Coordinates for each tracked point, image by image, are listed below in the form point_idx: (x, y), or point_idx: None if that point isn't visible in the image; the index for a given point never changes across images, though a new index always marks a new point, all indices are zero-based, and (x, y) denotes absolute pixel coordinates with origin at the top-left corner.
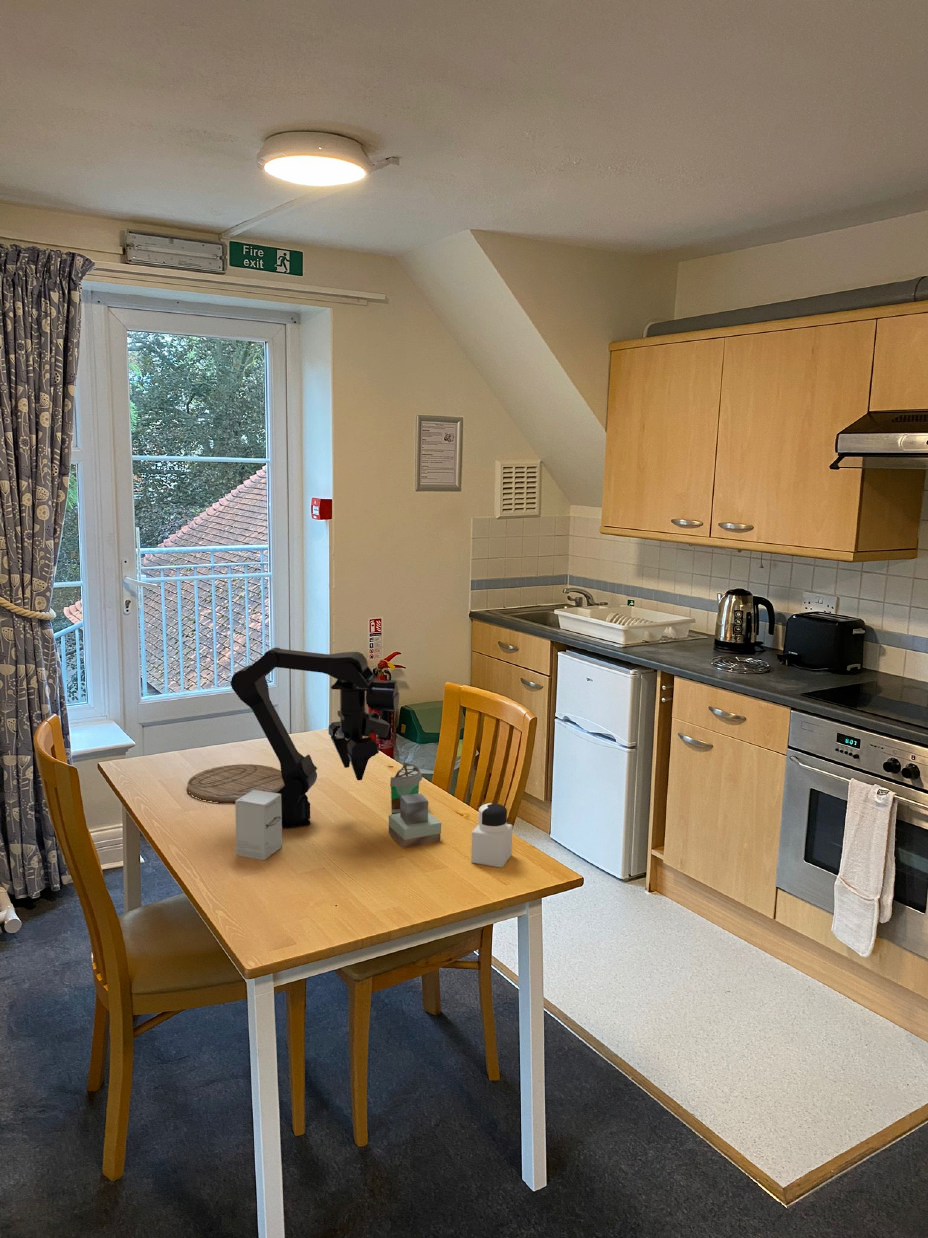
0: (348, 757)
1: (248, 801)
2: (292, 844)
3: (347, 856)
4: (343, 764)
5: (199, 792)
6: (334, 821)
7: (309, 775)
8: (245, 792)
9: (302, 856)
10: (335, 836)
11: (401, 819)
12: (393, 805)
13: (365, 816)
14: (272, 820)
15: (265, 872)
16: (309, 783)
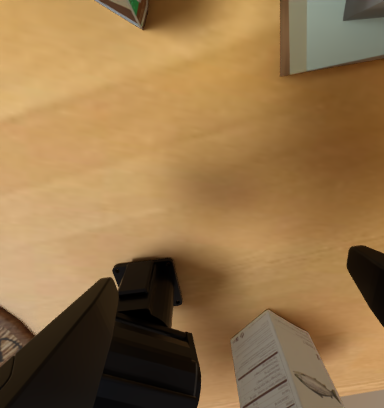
0: (82, 336)
1: None
2: (258, 292)
3: (366, 208)
4: (112, 319)
5: None
6: (159, 207)
7: (182, 402)
8: (6, 353)
9: (319, 283)
10: (249, 217)
11: (374, 23)
12: (141, 11)
13: (137, 123)
14: (325, 395)
15: (350, 332)
16: (185, 367)
